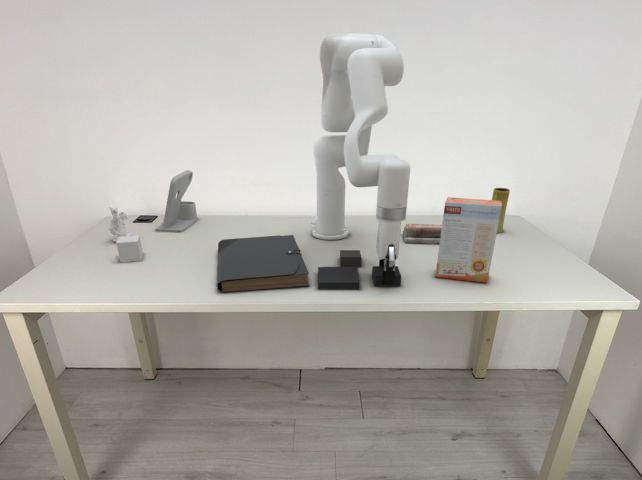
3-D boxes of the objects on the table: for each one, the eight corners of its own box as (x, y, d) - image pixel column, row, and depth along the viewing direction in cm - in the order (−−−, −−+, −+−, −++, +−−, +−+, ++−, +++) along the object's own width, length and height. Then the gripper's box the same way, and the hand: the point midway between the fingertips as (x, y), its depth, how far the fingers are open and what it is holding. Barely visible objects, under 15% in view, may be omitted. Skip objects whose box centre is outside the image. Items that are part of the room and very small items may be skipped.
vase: (504, 229, 168) (513, 188, 161) (500, 234, 164) (508, 192, 156) (487, 227, 171) (495, 186, 164) (482, 231, 167) (490, 190, 159)
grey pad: (340, 266, 137) (340, 257, 136) (339, 259, 142) (340, 250, 141) (361, 266, 137) (361, 257, 136) (359, 259, 142) (360, 250, 141)
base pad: (317, 289, 124) (317, 282, 122) (318, 273, 133) (318, 266, 132) (359, 289, 124) (360, 282, 123) (356, 273, 133) (357, 266, 132)
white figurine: (130, 244, 154) (122, 207, 148) (108, 245, 153) (99, 208, 147) (134, 236, 161) (127, 201, 155) (114, 237, 160) (105, 201, 154)
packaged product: (405, 229, 153) (403, 220, 161) (404, 243, 155) (402, 234, 164) (462, 230, 152) (456, 221, 160) (459, 244, 154) (454, 235, 163)
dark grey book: (309, 272, 123) (216, 279, 119) (310, 286, 125) (218, 294, 122) (293, 233, 151) (217, 238, 147) (294, 246, 153) (219, 251, 149)
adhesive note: (120, 262, 140) (115, 242, 137) (123, 255, 145) (118, 236, 142) (141, 260, 141) (137, 241, 138) (143, 254, 146) (139, 235, 143)
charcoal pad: (374, 286, 125) (374, 275, 124) (371, 276, 131) (372, 266, 130) (400, 286, 125) (401, 275, 124) (396, 276, 131) (397, 266, 130)
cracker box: (488, 276, 132) (503, 200, 121) (487, 284, 127) (502, 205, 116) (437, 269, 135) (447, 195, 125) (434, 277, 131) (445, 200, 120)
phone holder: (174, 217, 181) (166, 168, 172) (200, 218, 180) (193, 169, 171) (155, 230, 166) (145, 177, 157) (182, 232, 165) (174, 178, 156)
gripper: (373, 203, 126) (369, 266, 135) (380, 222, 111) (375, 291, 120) (401, 203, 126) (395, 266, 135) (411, 222, 111) (404, 291, 120)
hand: (386, 277), depth 128 cm, fingers closed on charcoal pad, 7 cm apart
